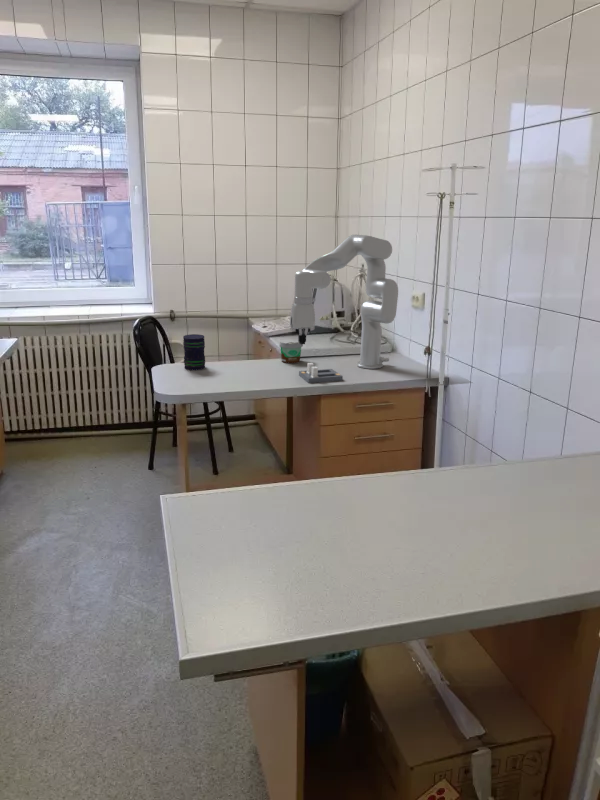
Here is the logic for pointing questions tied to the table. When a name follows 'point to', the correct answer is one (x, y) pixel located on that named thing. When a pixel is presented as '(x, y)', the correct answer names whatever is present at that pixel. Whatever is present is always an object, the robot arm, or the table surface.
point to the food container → (290, 352)
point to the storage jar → (194, 352)
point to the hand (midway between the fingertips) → (302, 343)
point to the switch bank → (321, 376)
